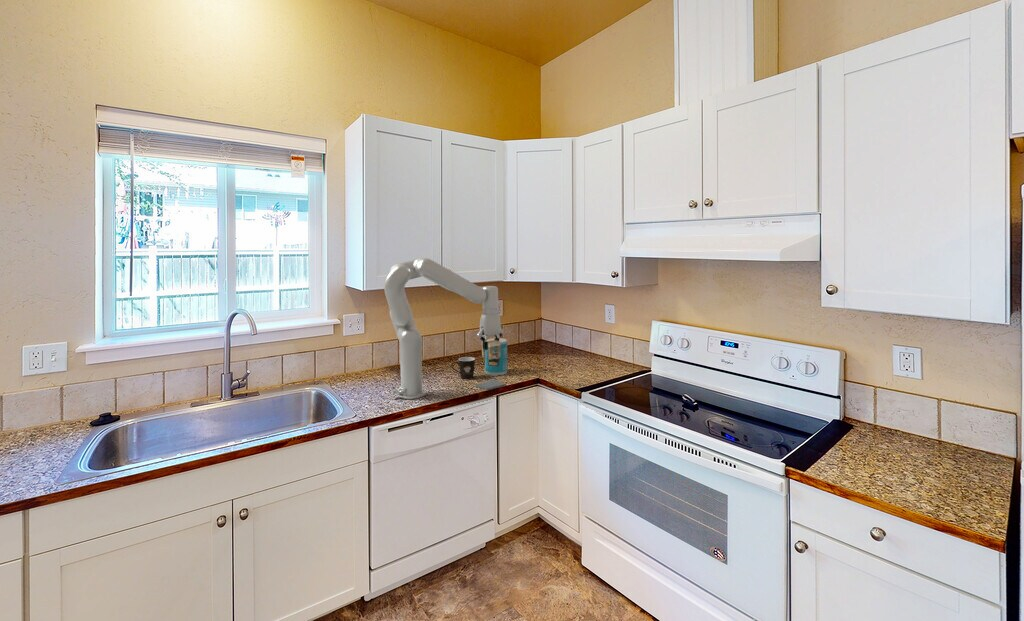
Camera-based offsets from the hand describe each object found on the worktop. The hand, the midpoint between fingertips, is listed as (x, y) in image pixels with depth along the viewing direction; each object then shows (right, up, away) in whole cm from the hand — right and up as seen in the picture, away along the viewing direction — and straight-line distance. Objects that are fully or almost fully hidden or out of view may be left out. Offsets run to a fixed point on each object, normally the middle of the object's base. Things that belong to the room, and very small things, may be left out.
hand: (491, 348), depth 217 cm
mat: (0, -19, +3) cm, 19 cm away
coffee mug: (-15, -17, +16) cm, 28 cm away
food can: (+2, -16, +25) cm, 30 cm away
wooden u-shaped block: (0, -5, +1) cm, 5 cm away
